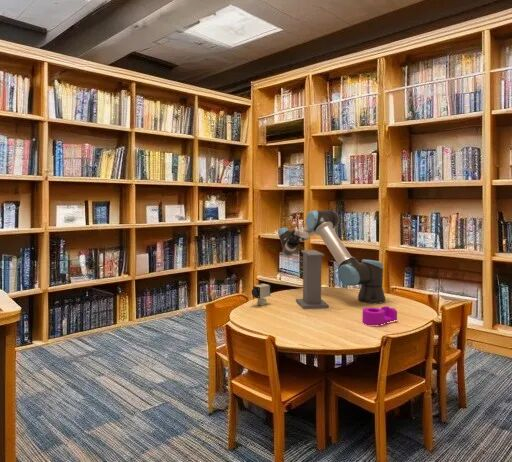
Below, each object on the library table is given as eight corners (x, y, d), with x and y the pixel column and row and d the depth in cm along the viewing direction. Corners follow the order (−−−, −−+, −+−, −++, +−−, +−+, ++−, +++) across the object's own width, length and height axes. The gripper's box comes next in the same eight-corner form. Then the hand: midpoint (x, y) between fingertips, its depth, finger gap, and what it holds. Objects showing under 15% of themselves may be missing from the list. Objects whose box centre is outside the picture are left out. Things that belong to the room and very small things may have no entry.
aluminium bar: (308, 237, 240) (308, 232, 239) (303, 237, 239) (303, 232, 239) (298, 234, 261) (298, 229, 261) (294, 234, 261) (294, 229, 261)
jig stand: (329, 308, 221) (329, 254, 218) (303, 309, 219) (303, 254, 216) (319, 300, 238) (319, 249, 236) (295, 300, 236) (295, 250, 234)
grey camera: (272, 303, 231) (272, 282, 230) (257, 307, 222) (257, 285, 221) (264, 302, 234) (264, 281, 233) (250, 305, 226) (250, 284, 225)
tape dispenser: (372, 328, 189) (373, 314, 188) (357, 322, 197) (358, 309, 197) (398, 322, 196) (398, 309, 196) (382, 317, 205) (382, 304, 204)
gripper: (304, 248, 274) (313, 233, 253) (280, 249, 271) (287, 234, 250) (303, 238, 277) (311, 222, 256) (279, 238, 275) (286, 223, 253)
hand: (299, 228), depth 253 cm, fingers closed on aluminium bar, 3 cm apart
